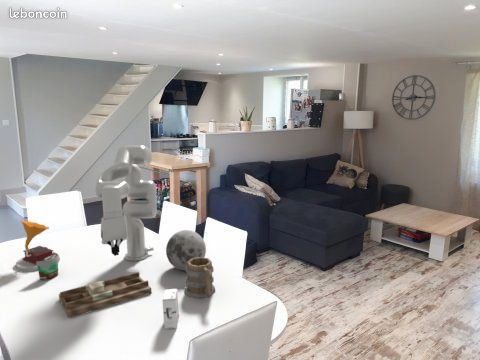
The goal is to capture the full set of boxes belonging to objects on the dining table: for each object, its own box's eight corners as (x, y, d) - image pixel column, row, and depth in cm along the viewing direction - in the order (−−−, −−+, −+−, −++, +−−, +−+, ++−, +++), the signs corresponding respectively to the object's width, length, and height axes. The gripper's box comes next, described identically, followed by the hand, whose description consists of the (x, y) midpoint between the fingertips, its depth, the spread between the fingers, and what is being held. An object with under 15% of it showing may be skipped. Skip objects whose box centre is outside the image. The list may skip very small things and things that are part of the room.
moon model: (185, 257, 202) (185, 222, 198) (214, 266, 190) (213, 229, 187) (158, 270, 186) (156, 232, 182) (187, 280, 174) (186, 240, 171)
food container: (49, 282, 172) (47, 262, 170) (37, 281, 173) (35, 261, 171) (66, 271, 184) (64, 252, 182) (55, 270, 185) (53, 251, 183)
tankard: (182, 287, 168) (181, 256, 165) (208, 282, 173) (208, 252, 170) (195, 308, 150) (194, 274, 147) (224, 302, 155) (223, 269, 152)
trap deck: (136, 278, 177) (136, 269, 176) (151, 293, 162) (151, 283, 162) (59, 299, 157) (58, 289, 156) (68, 318, 142) (67, 307, 142)
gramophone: (29, 274, 180) (24, 226, 176) (8, 265, 191) (2, 219, 186) (68, 260, 197) (64, 216, 193) (46, 253, 208) (42, 210, 203)
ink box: (166, 316, 144) (165, 288, 142) (179, 316, 144) (178, 287, 142) (163, 329, 135) (162, 299, 133) (177, 328, 136) (176, 299, 134)
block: (100, 289, 160) (100, 281, 159) (104, 294, 156) (103, 285, 155) (88, 293, 157) (88, 284, 156) (92, 297, 153) (91, 288, 152)
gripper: (127, 209, 163) (129, 247, 167) (92, 214, 154) (95, 255, 158) (133, 213, 157) (135, 253, 161) (97, 219, 149) (100, 261, 152)
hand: (115, 254), depth 160 cm, fingers closed
